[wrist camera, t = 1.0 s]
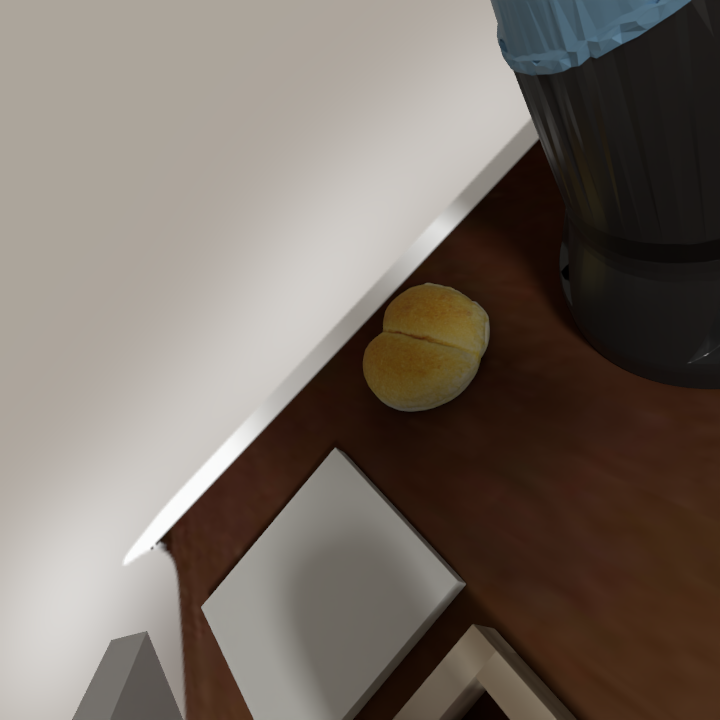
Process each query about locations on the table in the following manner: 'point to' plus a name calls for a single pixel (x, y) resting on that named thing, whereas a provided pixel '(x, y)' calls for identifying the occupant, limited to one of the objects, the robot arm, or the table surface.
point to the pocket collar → (483, 683)
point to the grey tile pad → (328, 599)
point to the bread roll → (426, 348)
